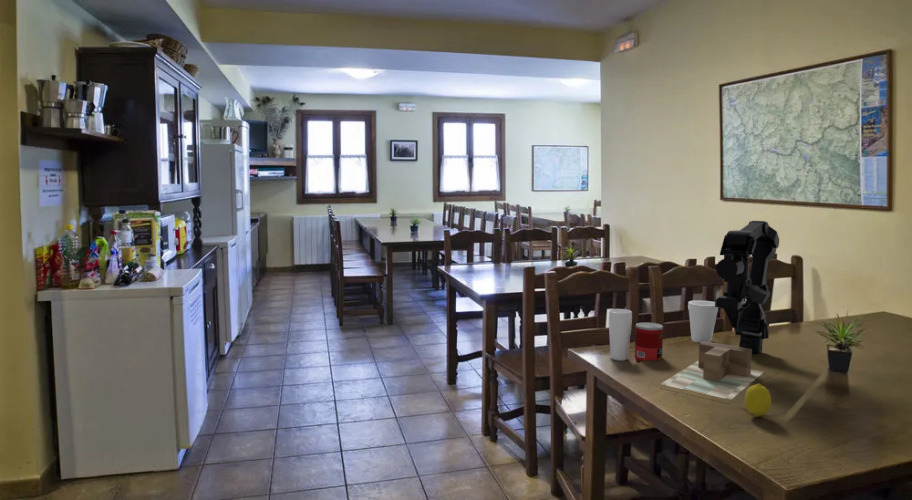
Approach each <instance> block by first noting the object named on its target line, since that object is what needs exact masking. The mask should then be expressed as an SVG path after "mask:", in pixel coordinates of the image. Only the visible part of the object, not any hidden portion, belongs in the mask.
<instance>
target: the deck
mask: <svg viewBox="0 0 912 500" xmlns="http://www.w3.org/2000/svg"><path fill="white" fill-rule="evenodd" d="M698 364H699V359H698V360H697V361H695V362H694V363H691V364H690V365H689V366H687V367H686V368H684V369H682V370H680V371H679V372H677V373H676V374H674V375H672V376H671V377H669V378H667V379H666V380H664V381H662V382H661V383H660V385H662V386H666V387H671V388H675V389H679V390H680V389H681V390H684V391H688V392H693V393H697V394H703V395H707V396H712V397H715V398H720V399H725V400H728V401H731V400H733V399H734V398H735V397H736V396H738V395H739V394H740V393H741V392H742V391H744V389H746V388H747V387H749V386H750V384H752V383H753V382H754V381H756V379H758V378H759V377H760V376H762V375H763V373H765V372H764V371H761V370H757V369H751V374H749V375H748V376H747V377H744V376H738V375H733V374H728V375H727V376H725V377H724V378H723V379H721V380H720V381H718V382H717V381H712V380H708V379H703V370H704V369H703V368H698ZM659 389H660V390H662V388H659ZM663 390H665V391H667V389H665V388H663ZM668 391H671V390H669V389H668ZM672 392H674V393H675V390H674V391H673V390H672ZM676 393H679V394H680V392H679V391H676ZM681 394H683V395H684V393H682V392H681ZM685 395H687V396H689V394H687V393H685ZM690 396H692V397H693V395H690ZM694 397H696V398H698V396H696V395H694ZM699 398H700V399H702V397H701V396H699ZM703 399H705V400H709V401H711V399H708V398H706V397H705V398H704V397H703ZM712 401H713V402H715V400H714V399H712ZM716 402H719V403H720V401H718V400H716ZM721 403H723V404H724V402H722V401H721ZM725 404H726V405H727V404H728V405H729V403H726V402H725Z"/></svg>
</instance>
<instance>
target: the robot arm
mask: <svg viewBox="0 0 912 500" xmlns="http://www.w3.org/2000/svg"><path fill="white" fill-rule="evenodd" d="M779 245H780V236H779V234H778V231H777V230H776V229H774V228H773V227H772V226H770V225H769V223H768V221H766V220H751V221H749V222H748V224H747V225H745V226H744V227H743V228H741V229H740V230H728V231H727V233H726V234H725V235H724V238H723V241H722V244H721V248H720V250H719V251H720V252H719V255H720V256H723V258H722V259H720V260H719V261H718V262H717V264H716V267H715V271H716V274H717V275H718V276H719V278H721V279H722V280H723V281H724V283H726V285H725V291H724V292H723V295H721V296H719V297H717V298H716V299H715V300H714V302H715V307H718V309H720V308H721V309H723V310H724V313H725V314H726V316H727V319H728V321H729V323H730V326H731V328H733V329H734V332H735V334H734V335H735V336H739V341H738V342H739V345H738V347H743V348H749V349H752V355H759V354H762V353H763V341H764V340H765V339H766V340H767V339H769V336H770V334H769V333H770V332H769V331H770V330H769V325H768V323H767V320H766V313H765V312H764V310H763V309H764V308H763V307H762V306H763V304H765V303H767V300H768V298H770V296H771V290H769V286H768V285H766V280H767V273H768V266H769V261H771V260H772V258H774V257H775V256H776V252H777V249H778V248H779ZM751 256H752V261H751V267H750V257H751ZM749 268H750V269H749ZM749 271H750V272H749ZM749 273H750V274H749Z"/></svg>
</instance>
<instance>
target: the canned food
mask: <svg viewBox="0 0 912 500" xmlns="http://www.w3.org/2000/svg"><path fill="white" fill-rule="evenodd" d="M634 338H635V339H634V358H635V361H637V362H638V363H641V362H644V361H659V360H662V359H663V347H664V346H663V343H664V326H663V324H660V323H657V322H638V323H637V322H636V324H635V335H634Z"/></svg>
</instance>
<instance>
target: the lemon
mask: <svg viewBox="0 0 912 500" xmlns="http://www.w3.org/2000/svg"><path fill="white" fill-rule="evenodd" d="M744 405H745V407H746V409H747V410H748V411H749V413H751V414H752V415H753V416H754V417H756V418H759V417H761V416H762V415H765V414H767V413H768V412H769V410H770V409H771V406H772V396H771V394H770V391H769V389H768V388H766V386H763V385H762V384H761V383H757V384H753V385H750V387H748V388H747V390H746V391H745V395H744Z"/></svg>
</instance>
